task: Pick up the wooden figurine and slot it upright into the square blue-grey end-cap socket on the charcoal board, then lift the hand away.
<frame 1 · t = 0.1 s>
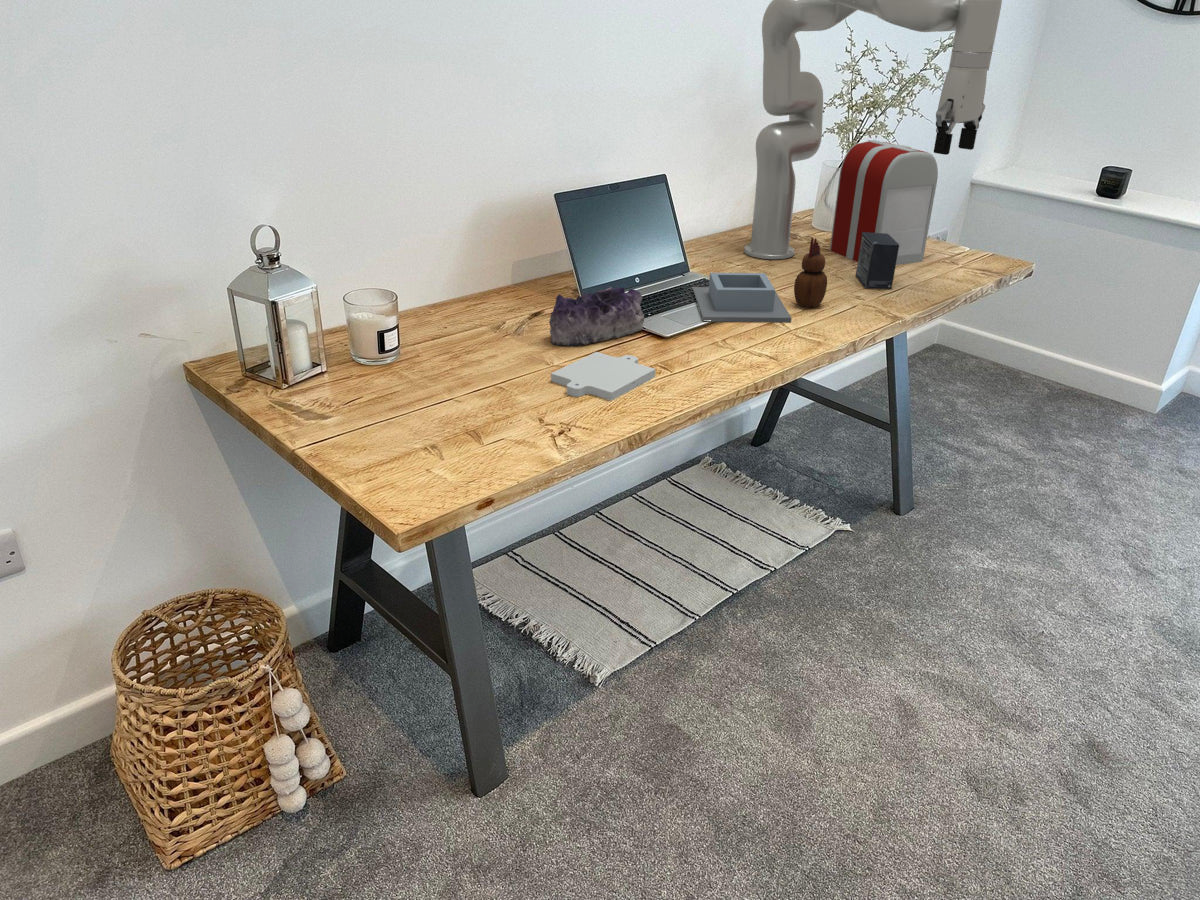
hand: (953, 151, 191), 31 cm above the table, fingers open, 9 cm apart
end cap: (739, 306, 198), on the table
wooden figurine: (808, 306, 199), on the table
red striped mailbox: (875, 256, 235), on the table
small box: (873, 283, 215), on the table
mounting plate: (603, 382, 162), on the table
geode: (595, 336, 181), on the table
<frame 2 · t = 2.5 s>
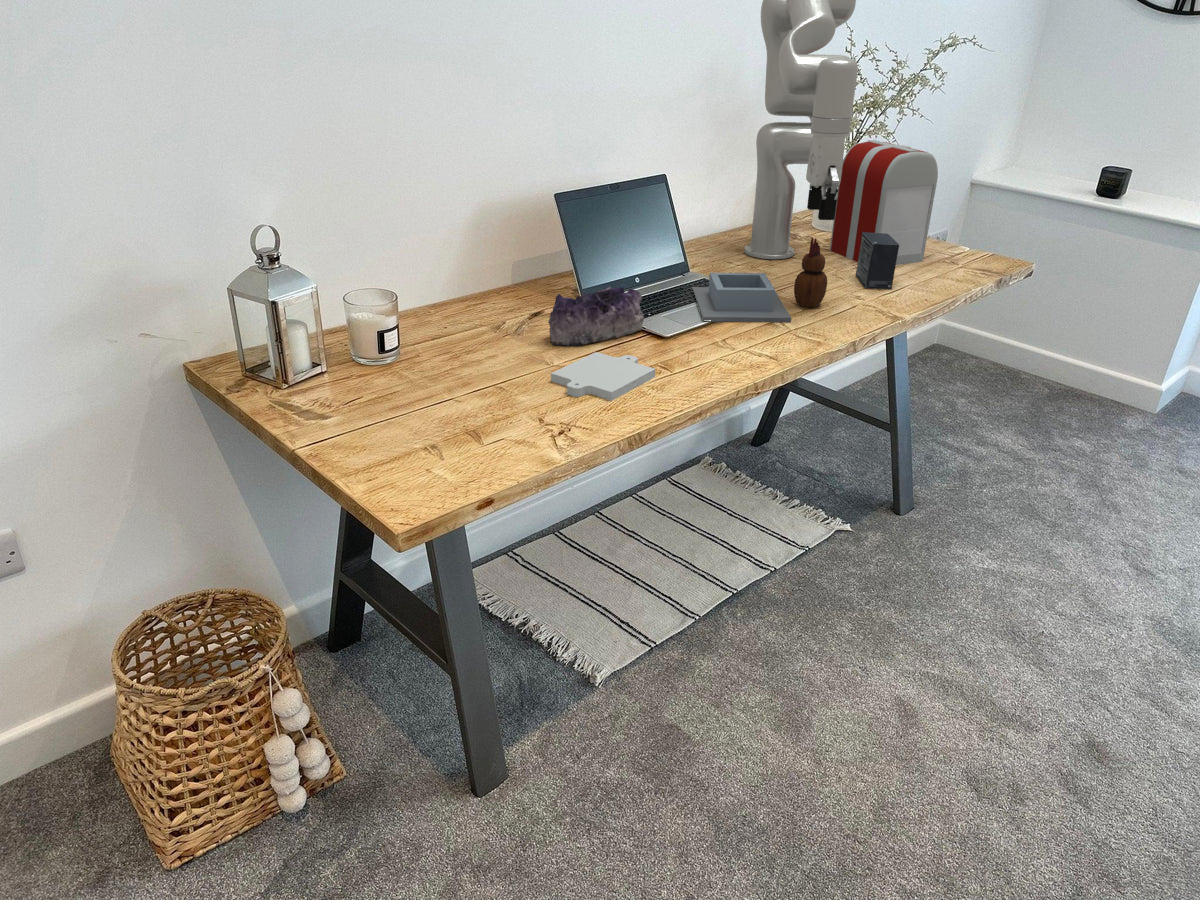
hand: (820, 214, 189), 20 cm above the table, fingers open, 9 cm apart
nothing on the table moved.
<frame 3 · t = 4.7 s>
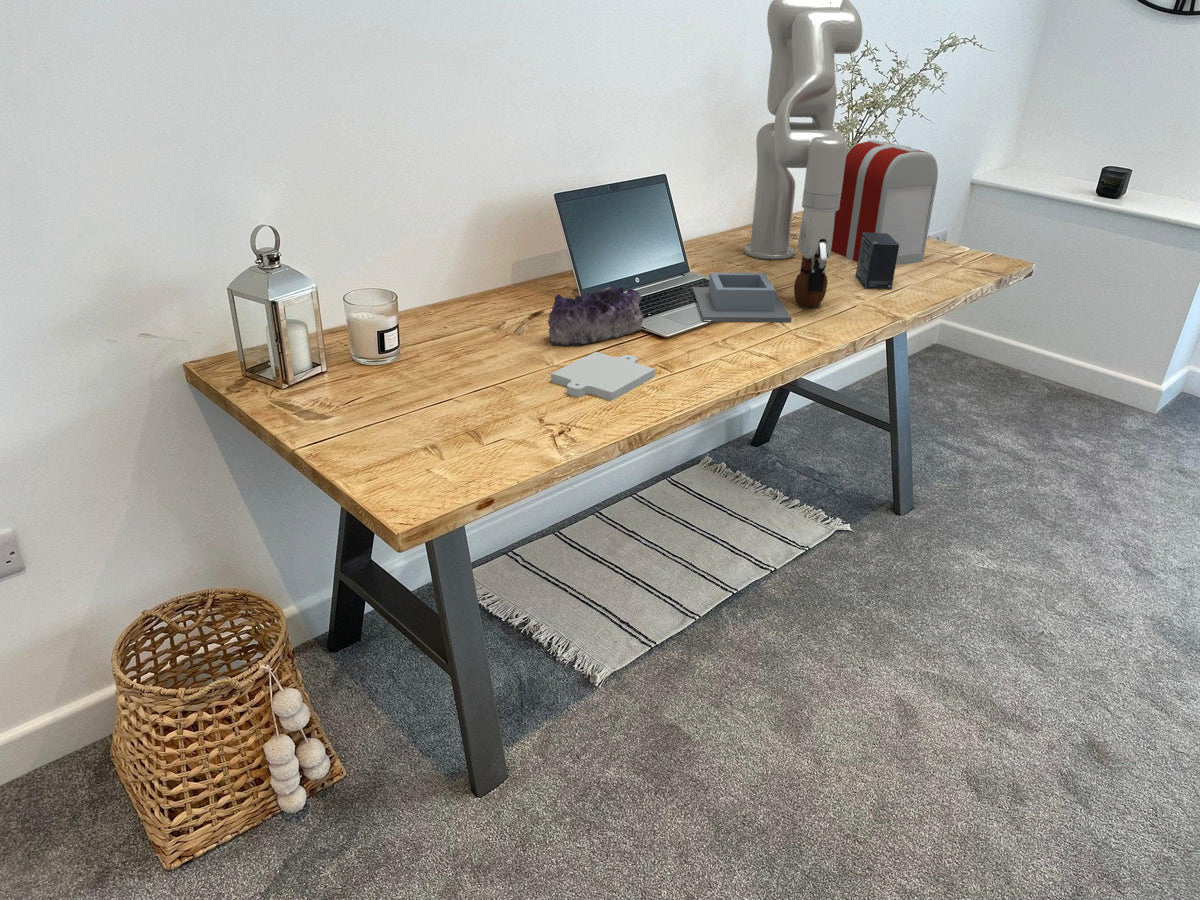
hand: (810, 285, 197), 4 cm above the table, fingers closed on wooden figurine, 6 cm apart
wooden figurine: (808, 306, 199), on the table, touching gripper
everything else where it was.
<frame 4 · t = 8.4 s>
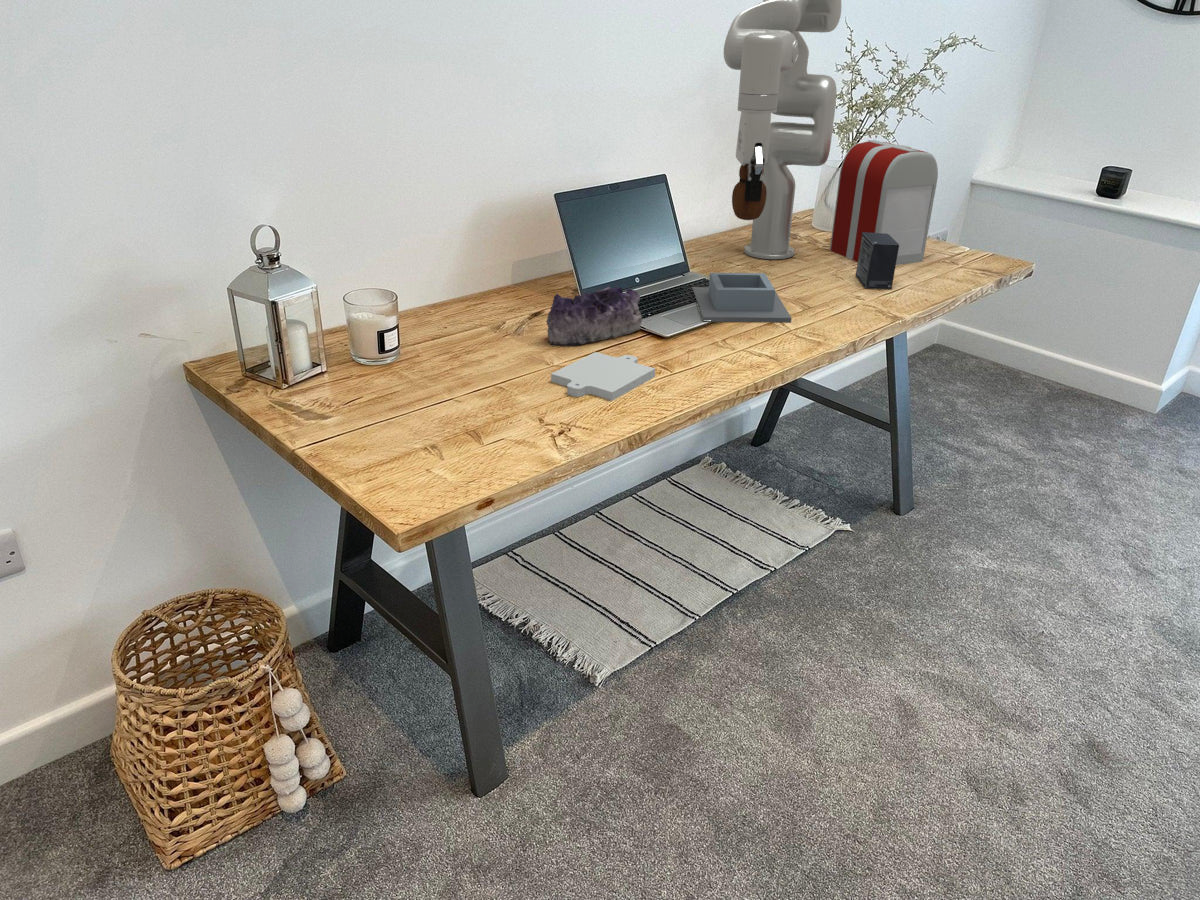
hand: (749, 196, 187), 23 cm above the table, fingers closed on wooden figurine, 6 cm apart
wooden figurine: (747, 219, 189), point 18 cm above the table, touching gripper
everything else where it was.
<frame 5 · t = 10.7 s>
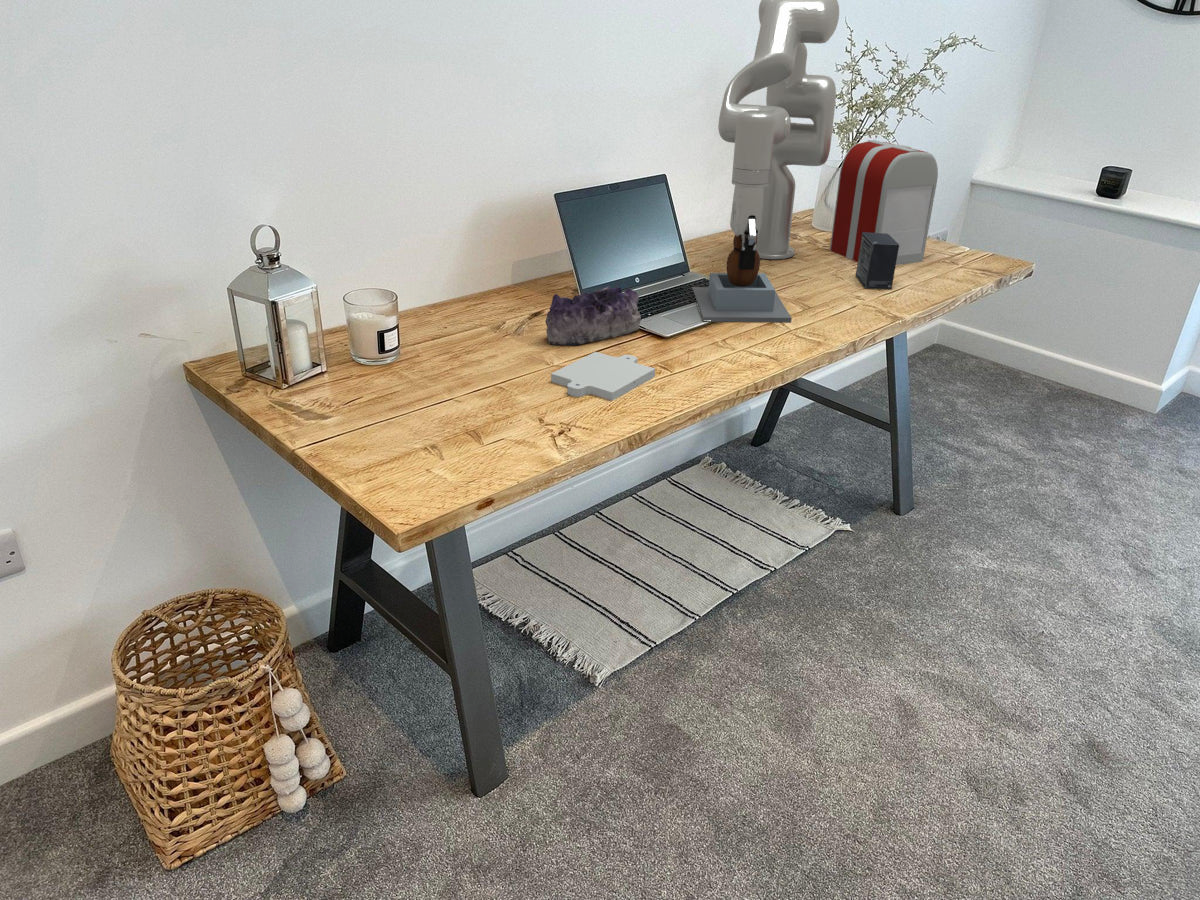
hand: (743, 263, 193), 9 cm above the table, fingers closed on wooden figurine, 6 cm apart
wooden figurine: (741, 285, 195), point 5 cm above the table, touching gripper
everything else where it was.
when the fingers open (6 cm above the table, at t = 12.3 s): wooden figurine stays where it is, resting on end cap.
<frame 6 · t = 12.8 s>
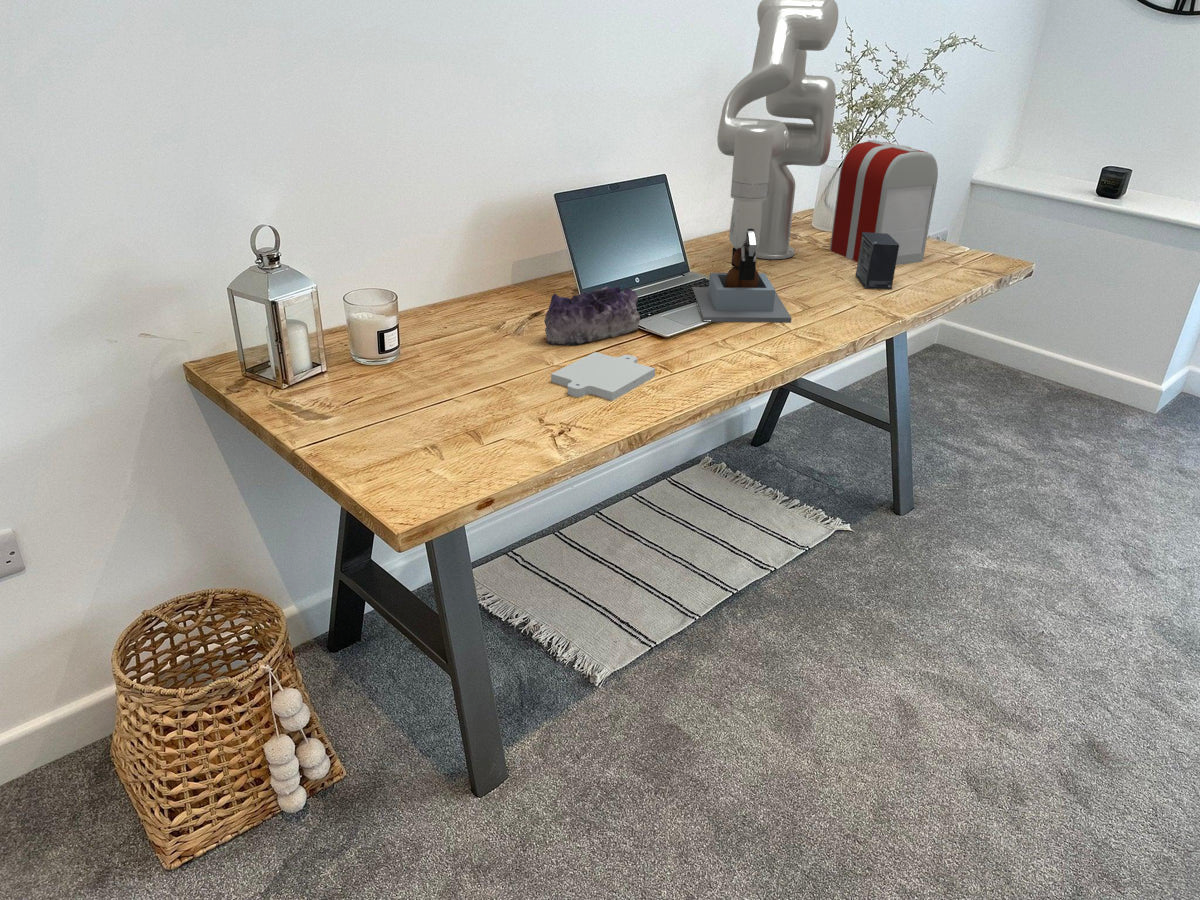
hand: (742, 272, 194), 7 cm above the table, fingers open, 9 cm apart
wooden figurine: (740, 302, 197), point 1 cm above the table, touching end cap
everything else where it was.
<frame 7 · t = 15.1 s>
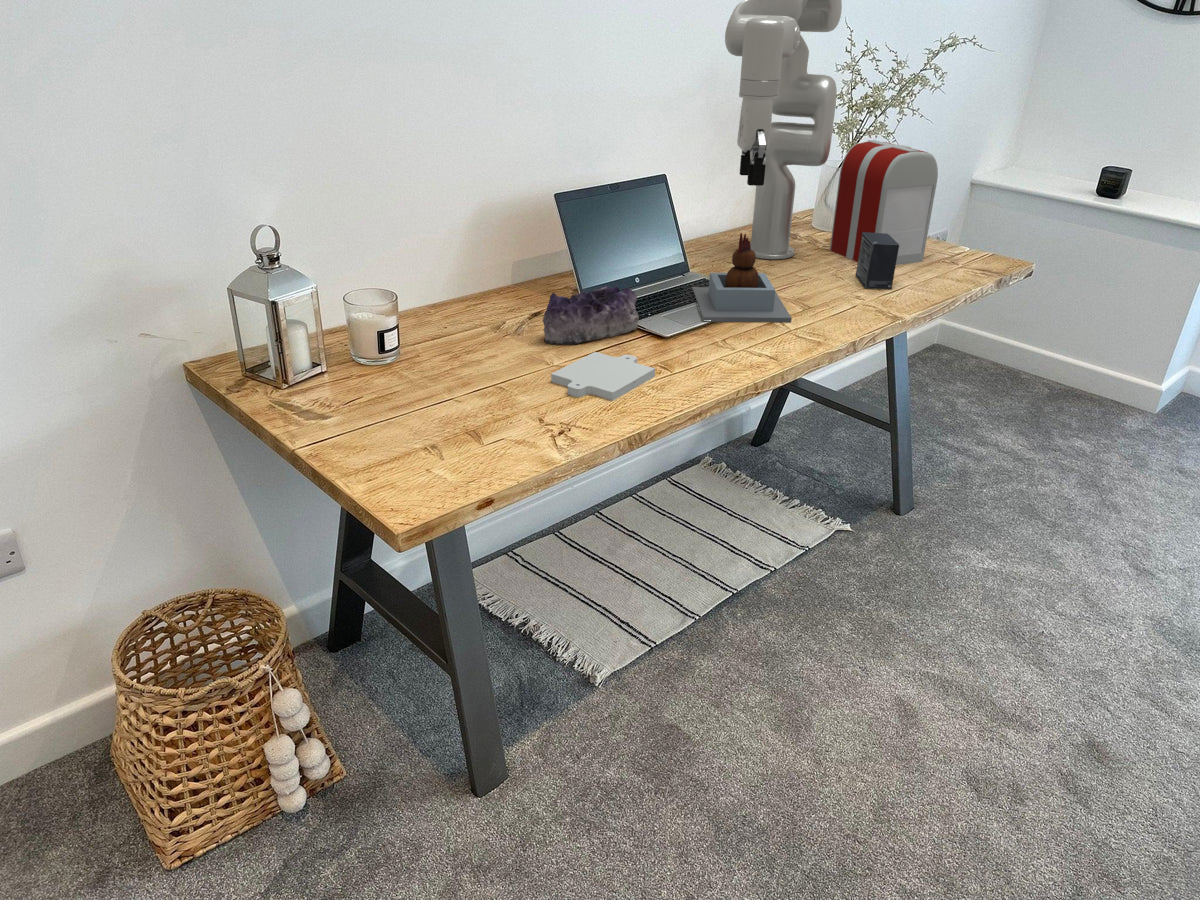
hand: (751, 180, 186), 26 cm above the table, fingers open, 9 cm apart
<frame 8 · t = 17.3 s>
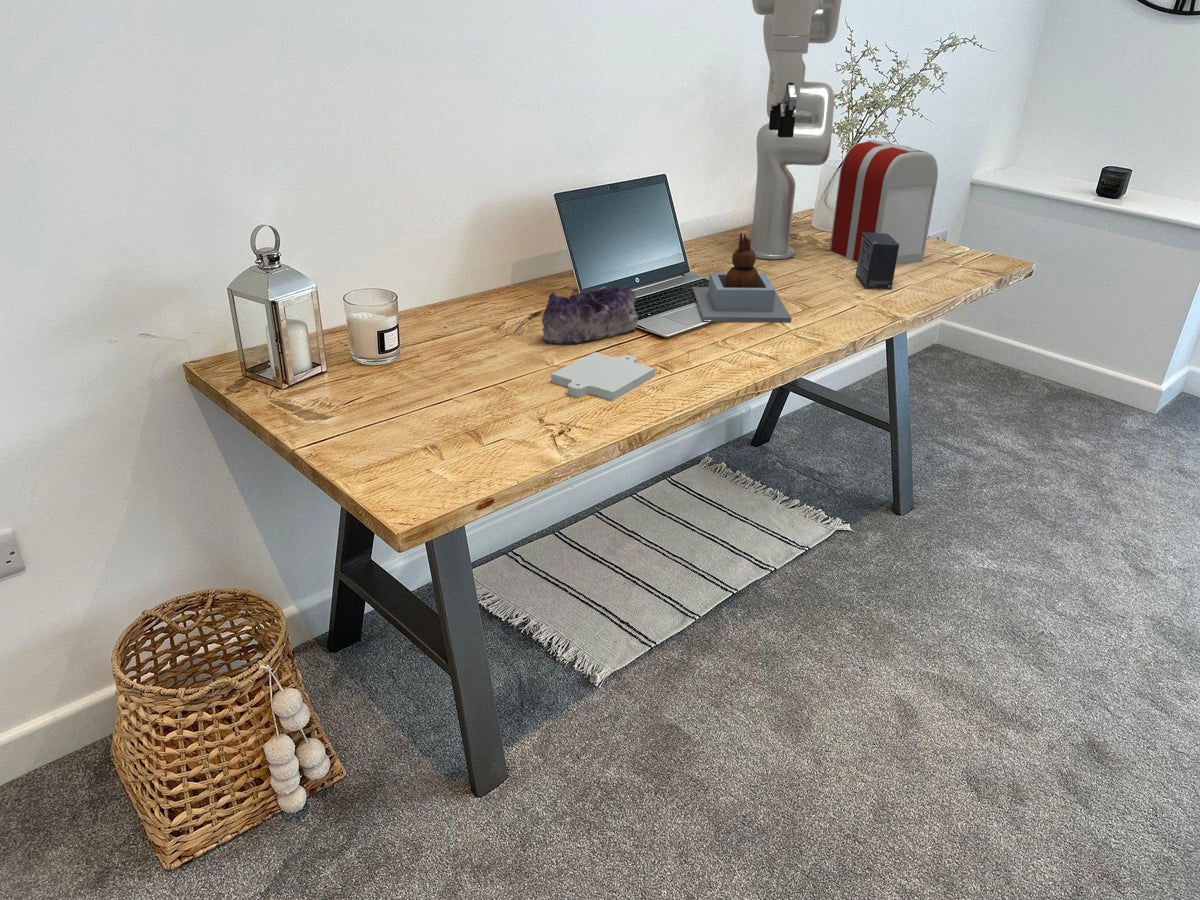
hand: (780, 133, 195), 33 cm above the table, fingers open, 9 cm apart
at the end: wooden figurine 0.1 cm off-centre on the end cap, point 0.8 cm above the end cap's base; wooden figurine tilted 0°; the gripper is holding nothing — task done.
